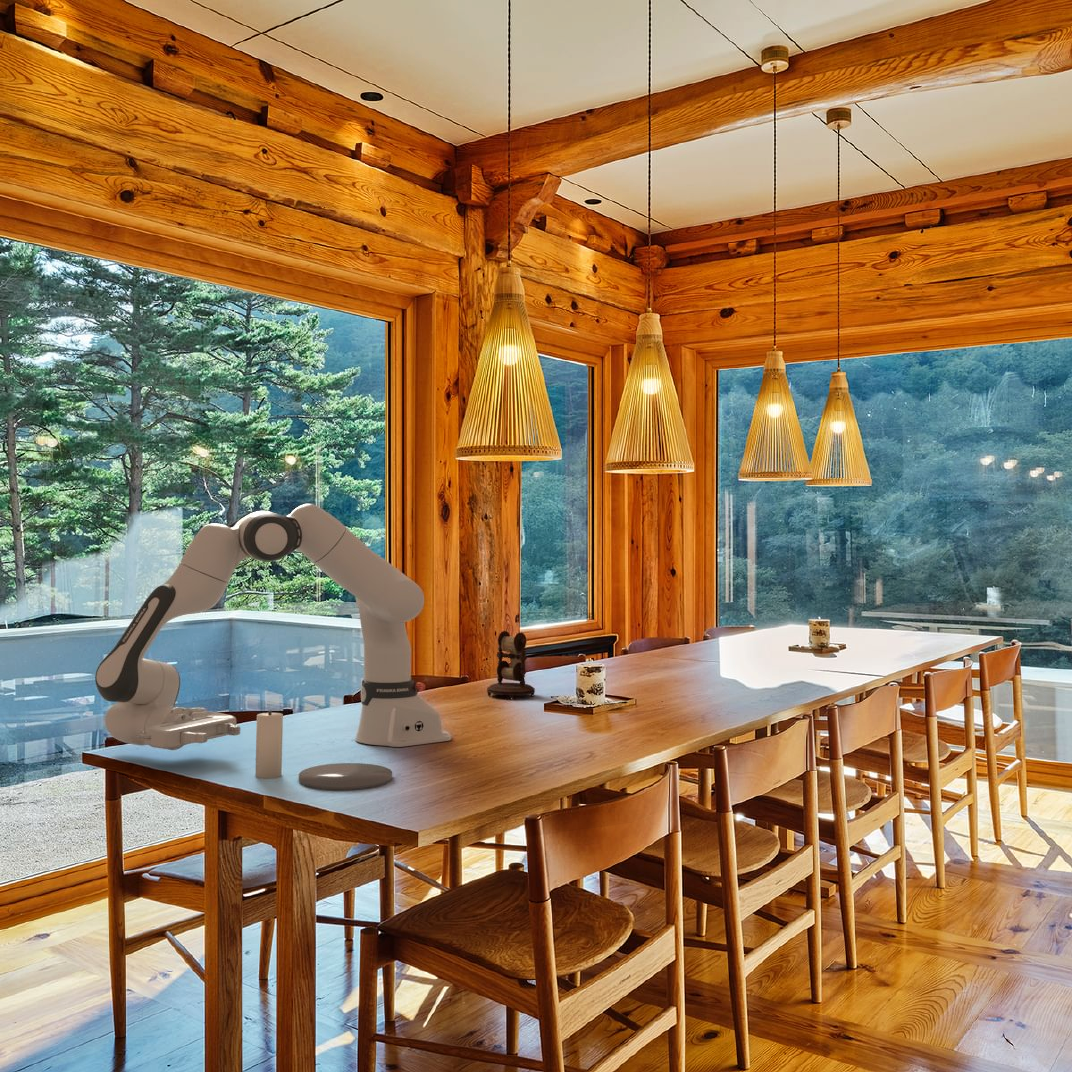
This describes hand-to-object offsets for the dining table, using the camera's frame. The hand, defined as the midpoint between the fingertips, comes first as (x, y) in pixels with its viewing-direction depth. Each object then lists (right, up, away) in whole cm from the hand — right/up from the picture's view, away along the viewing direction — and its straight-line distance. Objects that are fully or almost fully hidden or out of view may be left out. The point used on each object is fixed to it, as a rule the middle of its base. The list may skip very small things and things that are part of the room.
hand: (221, 734), depth 202 cm
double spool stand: (+56, -9, +104) cm, 119 cm away
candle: (+11, -7, -5) cm, 14 cm away
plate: (+27, -7, -7) cm, 28 cm away
